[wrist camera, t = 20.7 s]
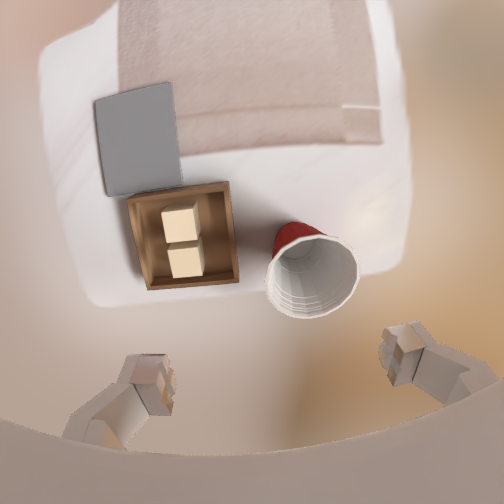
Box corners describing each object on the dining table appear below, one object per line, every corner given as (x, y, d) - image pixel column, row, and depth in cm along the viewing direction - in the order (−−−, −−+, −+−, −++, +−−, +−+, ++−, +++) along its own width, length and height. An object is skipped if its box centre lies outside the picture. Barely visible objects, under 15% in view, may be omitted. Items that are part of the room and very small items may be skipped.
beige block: (173, 239, 40) (167, 250, 37) (201, 236, 40) (197, 247, 37) (178, 265, 42) (173, 278, 38) (205, 262, 42) (202, 275, 38)
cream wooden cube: (168, 204, 38) (161, 212, 35) (196, 201, 38) (192, 208, 35) (172, 232, 40) (166, 243, 36) (200, 229, 40) (197, 239, 36)
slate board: (98, 101, 32) (95, 100, 32) (172, 83, 33) (170, 81, 32) (110, 195, 38) (107, 197, 37) (183, 183, 38) (182, 185, 37)
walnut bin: (135, 194, 38) (126, 199, 35) (228, 181, 38) (228, 185, 35) (153, 278, 43) (147, 290, 40) (239, 270, 43) (239, 282, 40)
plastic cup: (256, 276, 44) (262, 324, 33) (257, 205, 40) (266, 234, 29) (326, 275, 44) (352, 320, 33) (334, 206, 40) (368, 235, 29)
